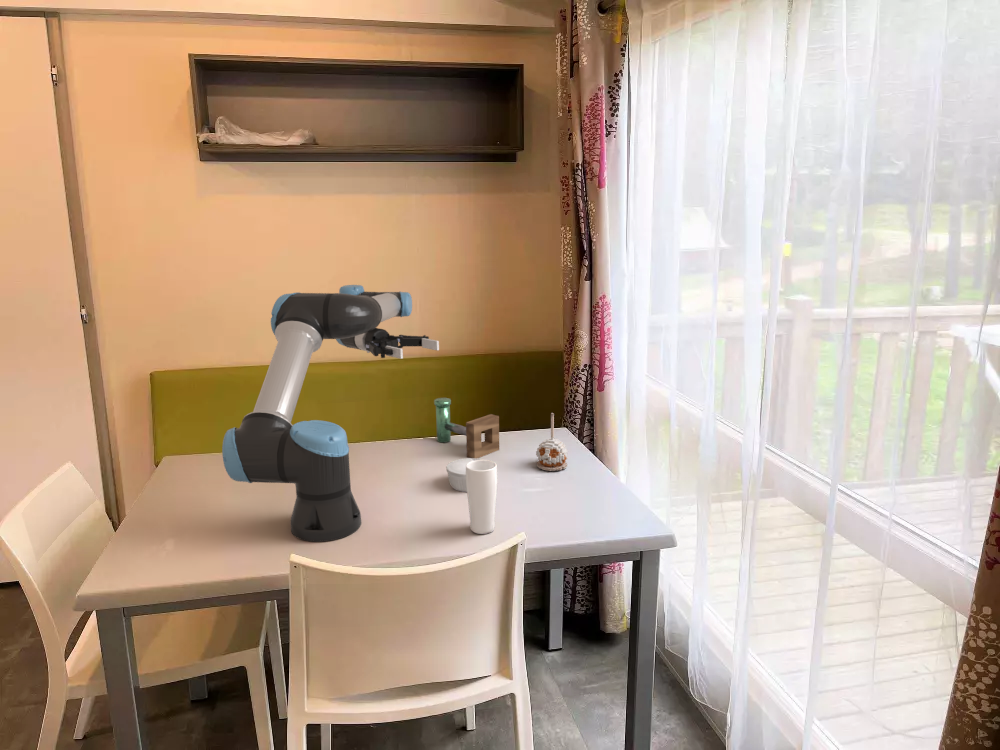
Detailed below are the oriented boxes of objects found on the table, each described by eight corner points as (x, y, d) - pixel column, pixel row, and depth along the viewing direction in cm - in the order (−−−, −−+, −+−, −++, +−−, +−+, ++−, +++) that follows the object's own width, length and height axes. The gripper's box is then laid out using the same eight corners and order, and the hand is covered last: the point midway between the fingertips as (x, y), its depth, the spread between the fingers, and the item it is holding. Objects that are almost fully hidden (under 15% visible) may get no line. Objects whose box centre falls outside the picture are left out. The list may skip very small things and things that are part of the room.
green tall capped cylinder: (432, 440, 216) (430, 400, 213) (444, 436, 219) (443, 396, 216) (468, 451, 206) (467, 410, 203) (480, 447, 209) (479, 406, 206)
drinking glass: (488, 539, 155) (487, 473, 152) (461, 532, 159) (459, 467, 155) (503, 526, 161) (502, 462, 157) (477, 520, 164) (475, 457, 161)
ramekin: (500, 483, 185) (500, 463, 184) (472, 498, 176) (472, 477, 175) (466, 473, 191) (465, 454, 190) (438, 487, 183) (437, 467, 182)
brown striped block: (466, 456, 203) (466, 422, 200) (491, 447, 210) (491, 414, 208) (474, 459, 201) (473, 424, 199) (499, 449, 208) (498, 416, 206)
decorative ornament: (532, 469, 193) (532, 415, 190) (544, 460, 200) (544, 407, 196) (559, 474, 190) (560, 419, 186) (571, 464, 196) (571, 411, 193)
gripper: (405, 345, 231) (452, 354, 217) (339, 359, 213) (386, 370, 199) (404, 321, 229) (451, 330, 215) (338, 334, 211) (384, 343, 198)
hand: (420, 349), depth 207 cm, fingers open, 13 cm apart
